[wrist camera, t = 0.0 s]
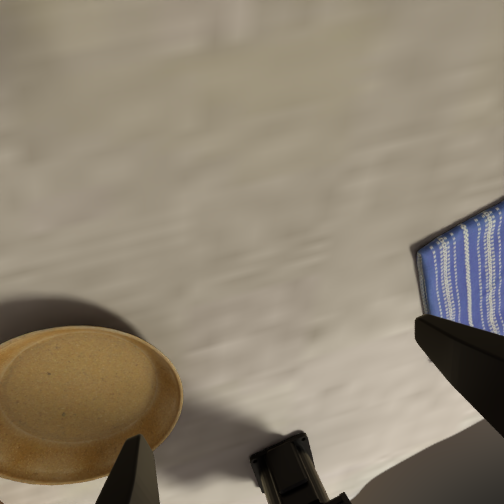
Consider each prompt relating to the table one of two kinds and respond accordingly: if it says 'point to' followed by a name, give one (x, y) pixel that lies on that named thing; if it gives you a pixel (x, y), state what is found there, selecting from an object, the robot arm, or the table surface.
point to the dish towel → (466, 272)
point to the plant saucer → (80, 402)
